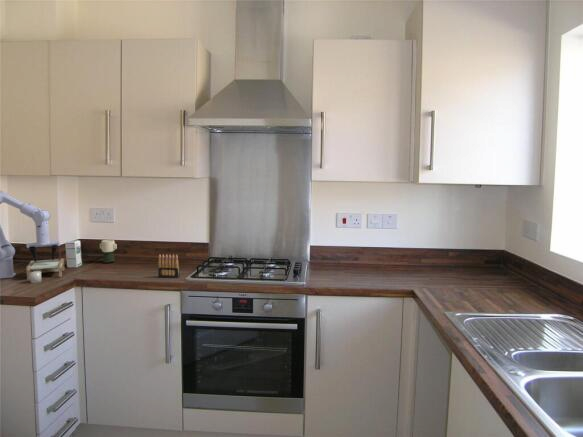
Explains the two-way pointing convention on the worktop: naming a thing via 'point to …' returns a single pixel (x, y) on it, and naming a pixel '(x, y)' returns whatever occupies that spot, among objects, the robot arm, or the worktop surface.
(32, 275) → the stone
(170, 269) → the ammunition clip
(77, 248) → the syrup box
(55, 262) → the trapdoor
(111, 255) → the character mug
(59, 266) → the frame
